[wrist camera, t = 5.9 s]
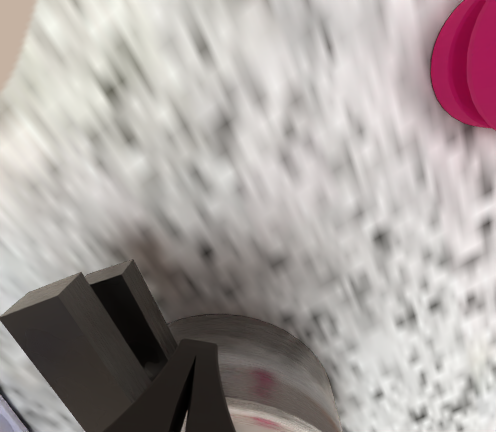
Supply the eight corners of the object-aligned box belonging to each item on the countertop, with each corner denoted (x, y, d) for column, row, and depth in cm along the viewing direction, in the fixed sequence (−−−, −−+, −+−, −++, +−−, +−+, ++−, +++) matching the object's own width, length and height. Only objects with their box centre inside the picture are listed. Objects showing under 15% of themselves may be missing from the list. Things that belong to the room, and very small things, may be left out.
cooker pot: (184, 521, 27) (165, 631, 22) (24, 273, 20) (-67, 342, 14) (366, 482, 25) (397, 593, 20) (262, 193, 18) (265, 235, 12)
